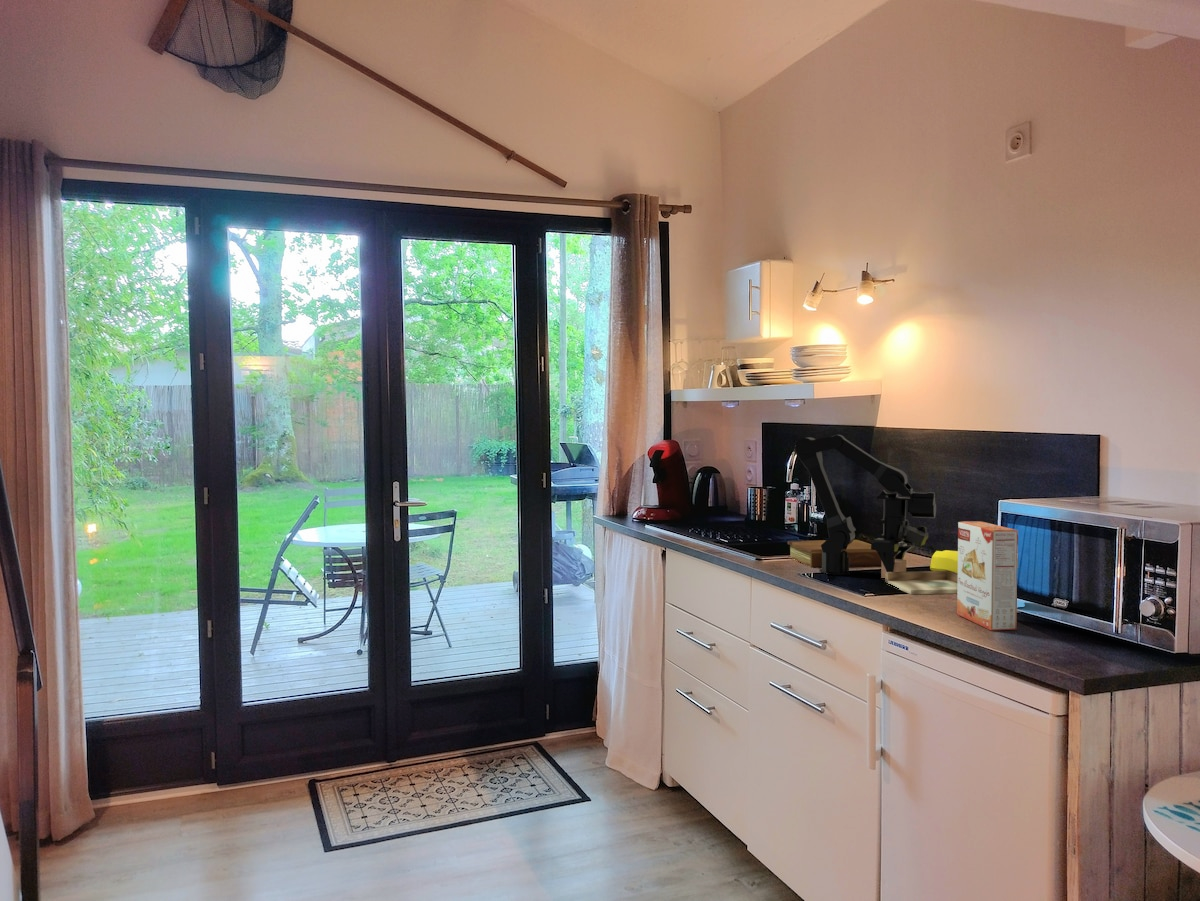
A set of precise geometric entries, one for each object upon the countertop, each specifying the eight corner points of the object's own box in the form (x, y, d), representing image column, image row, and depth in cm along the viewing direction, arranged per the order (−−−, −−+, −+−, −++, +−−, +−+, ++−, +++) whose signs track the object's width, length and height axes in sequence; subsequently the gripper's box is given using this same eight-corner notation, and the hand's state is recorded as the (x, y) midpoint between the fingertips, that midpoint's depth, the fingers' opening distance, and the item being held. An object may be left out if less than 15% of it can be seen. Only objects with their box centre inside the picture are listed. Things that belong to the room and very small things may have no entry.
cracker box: (954, 615, 187) (956, 520, 186) (981, 615, 187) (983, 520, 186) (989, 631, 173) (991, 529, 172) (1017, 630, 173) (1019, 528, 172)
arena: (910, 594, 209) (911, 582, 209) (885, 583, 223) (885, 572, 223) (979, 592, 211) (979, 580, 211) (949, 582, 225) (949, 570, 225)
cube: (899, 580, 226) (900, 562, 226) (881, 578, 229) (881, 560, 229) (905, 578, 230) (906, 559, 230) (887, 576, 233) (887, 558, 233)
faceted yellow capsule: (942, 569, 245) (922, 571, 242) (943, 546, 245) (922, 548, 242) (993, 580, 228) (972, 582, 225) (994, 556, 228) (972, 557, 225)
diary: (811, 570, 246) (811, 550, 246) (787, 559, 265) (787, 541, 264) (885, 567, 250) (885, 548, 249) (856, 557, 268) (856, 539, 268)
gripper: (913, 521, 217) (912, 582, 217) (935, 515, 232) (934, 572, 232) (870, 518, 224) (869, 577, 224) (895, 512, 238) (894, 567, 239)
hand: (893, 573), depth 230 cm, fingers closed on cube, 5 cm apart
